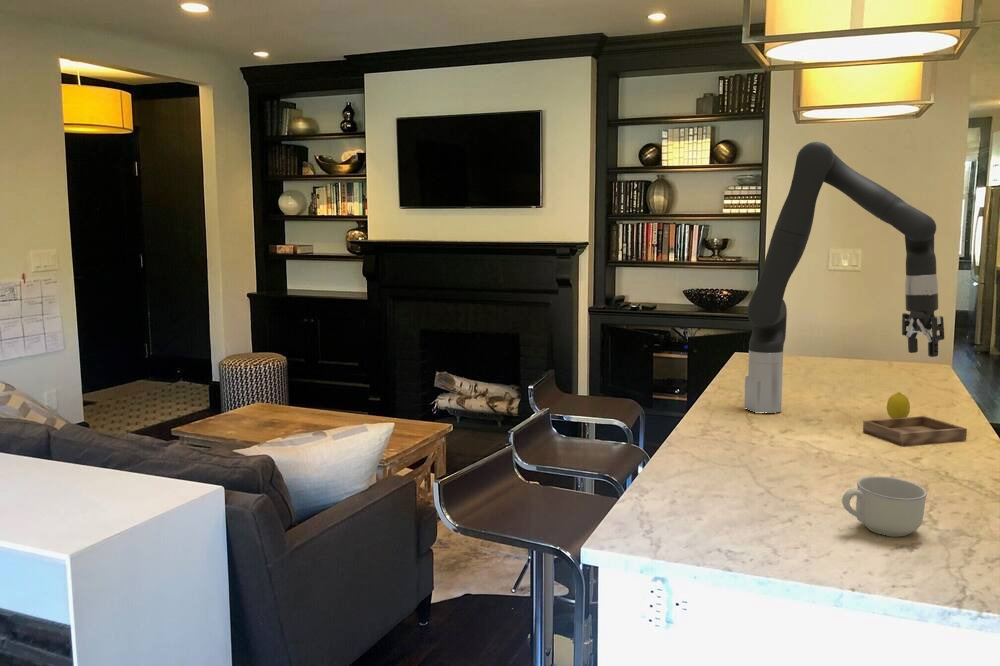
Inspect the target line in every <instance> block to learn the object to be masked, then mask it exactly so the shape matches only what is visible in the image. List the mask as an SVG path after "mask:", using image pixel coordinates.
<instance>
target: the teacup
mask: <svg viewBox="0 0 1000 666" xmlns="http://www.w3.org/2000/svg"><path fill="white" fill-rule="evenodd" d="M856 484H857V488H850V489H847V490H846V491H845V492H844V493H843V496H842V499H841V503H842V506H843V508H844V509H845V511H847V512H848V513H849V514H850V515H852V516H853V517H856V520H857V521H858V522H860V523H863V525H864V526H865V527H866V528H867V529H868V530H870V531H871V532H873V533H875V534H878V535H881V534H882V536H885V535H886V536H887V537H895V538H897V537H898V538H900V536H901V537H904V536H908V535H910V534H911V533H914V532H915V531H917V530H919V528H921V525H922V523H923V519H924V515H925V507H926V497H928V496H927V495H928V493H927V491H926V489H925V488H924V487H922V485H919V484H917V483H915V482H912V481H908V480H906V479H903V478H902V479H901V478H897V477H892V476H891V477H889V476H880V475H879V476H878V475H875V476H874V475H872V476H871V475H870V476H865V477H864V476H863V477H861V478H859V479H858V480H857V481H856ZM854 496H856V499H855V500H856V502H855V506H856V509H854V508H852V506H851V504H850V503H851V500H852V498H853V497H854Z"/></svg>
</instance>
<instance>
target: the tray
mask: <svg viewBox="0 0 1000 666" xmlns="http://www.w3.org/2000/svg"><path fill="white" fill-rule="evenodd" d="M862 422H863V423H862V433H863V432H864V434H867V435H869V436H871V437H872V436H873V437H875V438H878V439H880V440H883V441H885V442H890V443H892V444H895V445H898V446H900V447H908V446H910V447H911V446H921V445H922V446H923V445H932V444H934V443H935V444H945V443H944V442H947V443H956V442H955V441H958V442H965V441H964V440H966V441H967V436H968V435H967V434H968V433H967V432H968V428H965V427H963V426H959V425H956V424H952V423H949V422H945V421H941V420H938V419H935V418H932V417H930V416H929V417H928V416H926V415H921V416H910V417H908V416H907V417H906V418H881V419H870V420H869V419H868V420H867V419H866V420H863V421H862Z"/></svg>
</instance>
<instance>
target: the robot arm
mask: <svg viewBox="0 0 1000 666" xmlns="http://www.w3.org/2000/svg"><path fill="white" fill-rule="evenodd" d="M791 179H792V180H791V183H790V184H791V185H790V188H789V192H788V194H787V196H786V199H785V201H784V203H783V205H782V207H781V210H780V212H779V214H778V218H777V221H776V223H775V226H774V229H773V231H772V235H771V239H770V242H769V244H768V245H769V246H768V249H767V251H766V252H767V253H766V256H765V259H764V263H763V267H762V271H761V275H760V278H759V281H758V283H757V285H756V286H755V287H756V288H755V290H754V291H753V294H752V297H751V298H750V301H749V303H748V305H747V317H748V320H749V321H750V323H751V324H752V331H751V335H750V339H749V342H748V369H747V370H748V372H747V373H748V374H747V376H745V378H744V404H743V405H744V406H743V407H744V408H747V409H749V410H751V411H754V412H764V413H765V412H767V413H773V412H780V411H781V412H782V408H783V407H782V405H783V404H782V402H783V401H782V399H783V398H782V397H783V375H784V374H783V372H784V369H783V368H784V346H785V345H784V344H785V342H786V333H787V317H788V311H787V310H788V309H787V304H786V302H785V300H784V295H785V292H786V289H787V286H788V283H789V280H790V279H791V277H792V275H793V273H794V271H795V269H796V268H797V266H798V265H799V262H800V261H801V259H802V257H803V254H804V253H805V249H806V247H807V243H808V240H809V238H810V235H811V231H812V227H813V224H814V217H815V211H816V204H817V199H818V196H819V194H820V192H821V191H820V190H821V189H822V186H823V184H824V183H826V184H828V185H830V186H831V187H833V188H835V189H837V190H838V191H840V192H842V194H844V195H845V196H847V197H848V198H849V199H851V200H852V201H853V202H855V203H856V204H857V205H858V206H860V207H861V208H862V209H864V210H865V211H867V212H868V213H869V214H871V215H872V216H874V217H875V218H877V219H879V220H880V221H881V222H884V223H886V224H887V225H890V226H892V227H893V228H895V229H896V230H897V231H898V232H900V233H901V234H903V235H904V242H905V253H906V256H905V283H904V284H905V285H904V290H905V291H904V293H905V294H904V295H905V296H904V297H905V310H906V311H907V313H905V312H903V313H902V315H901V318H902V319H901V334H902V336H905V338H906V339H907V344H908V345H907V349H908V353H911V354H914V353H915V354H917V352H918V349H919V347H918V345H919V344H918V336H919V335H920V333H922V334H923V335H924V336H925V337H926V339H927V341H928V342H927V353H928V354H927V356H928V357H930V358H934V357H935V358H936V357H938V356H939V342H940V341H943V340H945V324H944V316H943V315H941V316H940V315H937V316H935V311H937V310H939V281H938V277H937V257H936V253H935V234H936V232H937V223H936V221H935V220H934V219H933V218H932V217H931V216H929V215H928V214H926V213H924V212H923V211H921V210H920V209H917V208H915V207H914V206H912V205H911V204H909V203H907V202H905V201H904V200H903V199H902V198H901V197H899V196H898V195H896V194H895V193H894V192H892V191H890V190H889V189H887V188H885V187H884V186H882V185H880V184H879V183H877V182H876V181H873V180H871V179H869V178H868V177H867V176H865V175H863V174H861V173H859V172H858V171H856V170H854V169H853V168H852V167H851V166H849V165H848V164H847V163H845V162H844V161H842V159H841V158H840V157H839V156H838V155H836V153H834V151H833V149H832V148H831V147H830V146H829V145H827V144H825V143H824V142H821V141H813V142H809V143H807V144H805V145H804V146H802V147H801V148H800V150H799V151H798V153H797V155H796V160H795V164H794V170H793V175H792V178H791ZM938 332H939V334H938ZM744 408H743V409H744ZM781 412H780V413H781Z"/></svg>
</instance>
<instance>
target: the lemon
mask: <svg viewBox="0 0 1000 666" xmlns="http://www.w3.org/2000/svg"><path fill="white" fill-rule="evenodd" d="M886 403H887V404H886V411H887V414H888V416H889V418H890V419H893V418H906V417H908V416H909V414H910V410H911V405H910V400H909V398H908V397H907V396H906V395H905V394H902V392H899V391H898V392H896V393H894V394H892V395H891V396H890V397H889V398H888V400H887V402H886Z"/></svg>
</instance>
